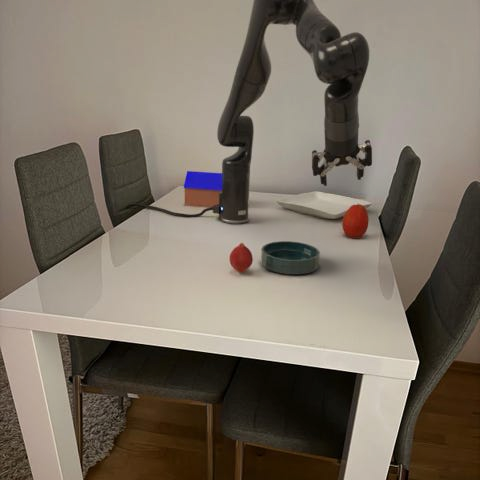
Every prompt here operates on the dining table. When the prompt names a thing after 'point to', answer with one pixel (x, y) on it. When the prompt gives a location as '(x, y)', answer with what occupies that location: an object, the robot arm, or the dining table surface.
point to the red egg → (355, 221)
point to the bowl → (290, 257)
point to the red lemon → (241, 258)
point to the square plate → (321, 204)
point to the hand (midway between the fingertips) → (341, 180)
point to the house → (202, 188)
